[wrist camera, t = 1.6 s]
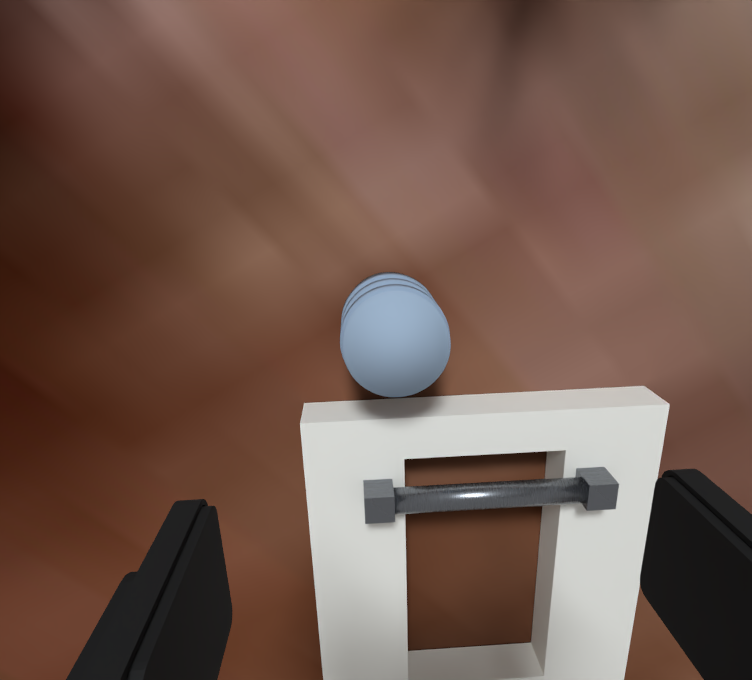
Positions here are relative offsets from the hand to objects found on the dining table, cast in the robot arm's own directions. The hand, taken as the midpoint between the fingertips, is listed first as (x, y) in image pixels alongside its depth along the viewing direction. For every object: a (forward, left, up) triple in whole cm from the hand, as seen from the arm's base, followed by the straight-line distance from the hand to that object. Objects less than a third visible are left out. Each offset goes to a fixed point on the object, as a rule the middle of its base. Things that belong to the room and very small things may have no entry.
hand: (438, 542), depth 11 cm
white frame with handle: (-5, +16, -18) cm, 24 cm away
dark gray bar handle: (-5, +9, -15) cm, 19 cm away
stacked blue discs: (0, 0, -18) cm, 18 cm away
